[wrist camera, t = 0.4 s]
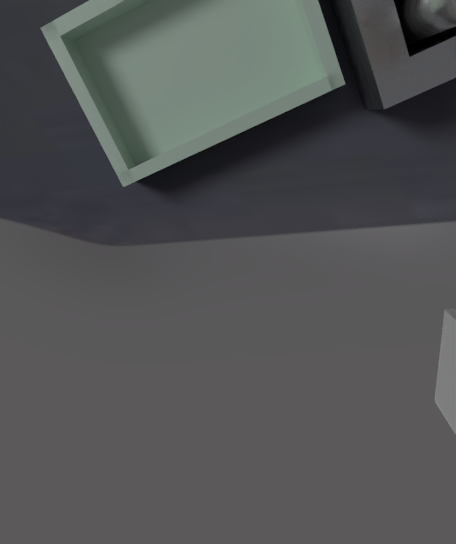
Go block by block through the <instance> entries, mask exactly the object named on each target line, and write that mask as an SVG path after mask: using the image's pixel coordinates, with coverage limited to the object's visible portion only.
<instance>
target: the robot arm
mask: <svg viewBox="0 0 456 544" xmlns="http://www.w3.org/2000/svg"><path fill="white" fill-rule="evenodd" d="M435 403H436V404H437V406H438V407H439V409H440V410H441V412H442V413H443V415H444V417H445V418H446V419H447V421H448V423H449V425H450V426H451V428H452V429H453V431H454V432H455V434H456V309H445V312H444V321H443V330H442V339H441V348H440V357H439V366H438V375H437V384H436V392H435Z"/></svg>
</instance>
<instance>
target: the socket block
mask: <svg viewBox="0 0 456 544" xmlns="http://www.w3.org/2000/svg"><path fill="white" fill-rule="evenodd" d="M331 2H332V5H333V9H334V12H335V15H336V18H337V21H338V24H339V27H340V31H341V34H342V37H343V40H344V43H345V46H346V49H347V53H348V56H349V59H350V62H351V65H352V68H353V71H354V75H355V78H356V81H357V84H358V87H359V90H360V93H361V97H362V100H363V103H364V106H365V109H386V108H389V107H391V106H393V105H395V104H398V103H400V102H402V101H404V100H407V99H409V98H411V97H413V96H416V95H418V94H420V93H422V92H425V91H427V90H429V89H431V88H434V87H436V86H438V85H440V84H443V83H445V82H447V81H449V80H452V79H454V78H456V26H455V27H452V28H450V29H447V30H445V31H443V32H440V33H441V37H442V39H441V40H439V41H437V42H434V43H432V44H430V45H428V46H426V47H424V48H422V49H419V50H417V51H415V52H413V53H411V54H408V50H407V47H406V43H405V39H404V36H403V32H402V29H401V25H400V21H399V18H398V14H397V11H396V7H395V3H394V0H331Z"/></svg>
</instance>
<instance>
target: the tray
mask: <svg viewBox="0 0 456 544" xmlns="http://www.w3.org/2000/svg"><path fill="white" fill-rule="evenodd" d="M41 30H42V32H43V34H44V36H45V38H46V40H47V42H48V44H49V46H50V48H51V49H52V51H53V53H54V55H55V57H56V59H57V61H58V63H59V65H60V67H61V69H62V71H63V72H64V74H65V76H66V78H67V80H68V82H69V84H70V86H71V88H72V90H73V92H74V94H75V95H76V97H77V99H78V101H79V103H80V105H81V107H82V109H83V111H84V113H85V115H86V117H87V118H88V120H89V122H90V124H91V126H92V128H93V130H94V132H95V134H96V136H97V138H98V140H99V141H100V143H101V145H102V147H103V149H104V151H105V153H106V155H107V157H108V159H109V161H110V163H111V164H112V166H113V168H114V170H115V172H116V174H117V176H118V178H119V180H120V182H121V184H122V186H123V187H125V186H127V185H129V184H131V183H133V182H135V181H138V180H140V179H142V178H144V177H146V176H148V175H150V174H153V173H155V172H157V171H159V170H161V169H163V168H166V167H168V166H170V165H172V164H174V163H176V162H178V161H181V160H183V159H185V158H187V157H189V156H191V155H194V154H196V153H198V152H200V151H202V150H204V149H207V148H209V147H211V146H213V145H215V144H217V143H219V142H222V141H224V140H226V139H228V138H230V137H232V136H235V135H237V134H239V133H241V132H243V131H245V130H247V129H250V128H252V127H254V126H256V125H258V124H260V123H263V122H265V121H267V120H269V119H271V118H273V117H276V116H278V115H280V114H282V113H284V112H286V111H288V110H291V109H293V108H295V107H297V106H299V105H301V104H304V103H306V102H308V101H310V100H312V99H314V98H317V97H319V96H321V95H323V94H325V93H327V92H329V91H332V90H334V89H336V88H338V87H340V86H342V85H345V81H344V78H343V75H342V72H341V69H340V66H339V63H338V60H337V57H336V54H335V51H334V48H333V44H332V41H331V38H330V35H329V32H328V29H327V26H326V23H325V20H324V17H323V14H322V11H321V8H320V5H319V2H318V0H89V1H88V2H86V3H84V4H82V5H80V6H79V7H77V8H75V9H73V10H71V11H70V12H68V13H66V14H64V15H63V16H61V17H59V18H57V19H55V20H54V21H52V22H50V23H48V24H47V25H45V26H43V27H41Z"/></svg>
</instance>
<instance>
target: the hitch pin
mask: <svg viewBox="0 0 456 544" xmlns="http://www.w3.org/2000/svg"><path fill="white" fill-rule="evenodd" d="M395 7H396V11H397V14H398V18H399V21H400V25H401V29H402V32H403V36H404V39H405V43H406V46H407V45H410V44H413V43H415V42H418V41H420V40H423V39H425V38H428V37H430V36H433V35H435V34H438V33H440V32H443V31H445V30H447V29H450V28H452V27H455V26H456V0H401V1H400V2H398V3H397V4H396V5H395Z"/></svg>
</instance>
